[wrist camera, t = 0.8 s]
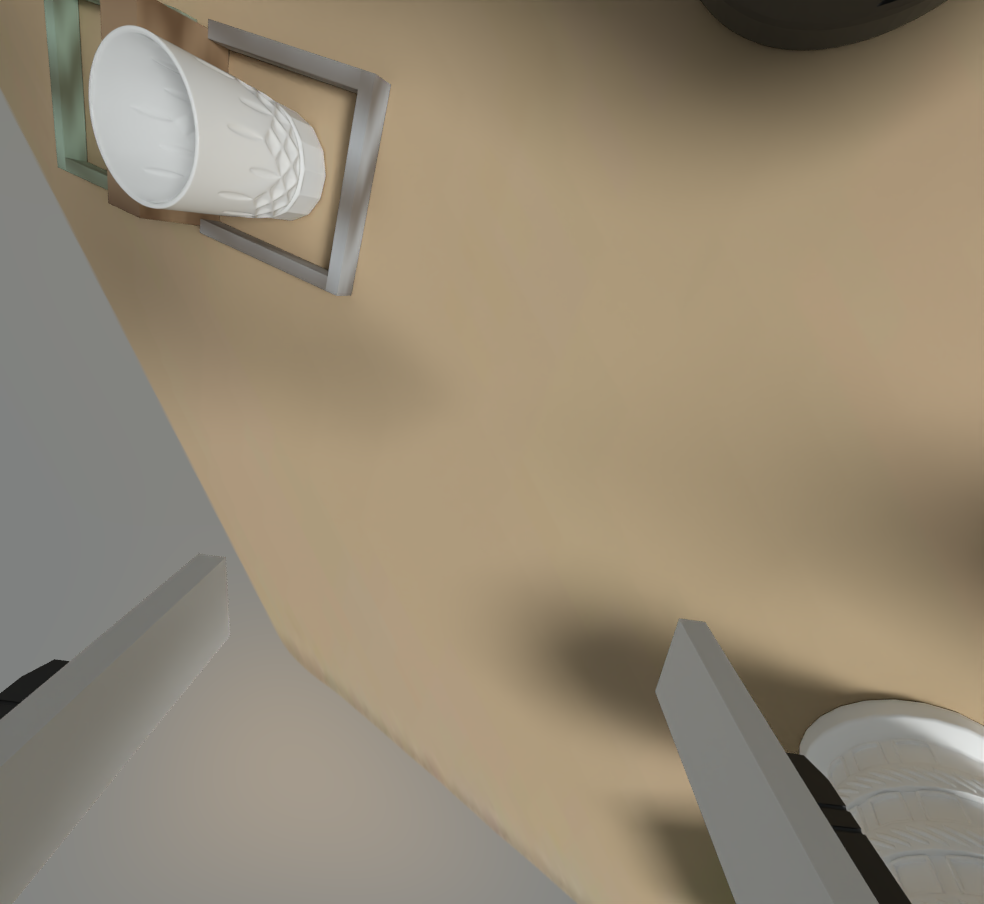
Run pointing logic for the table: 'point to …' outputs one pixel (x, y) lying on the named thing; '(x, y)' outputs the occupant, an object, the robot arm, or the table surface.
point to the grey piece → (139, 7)
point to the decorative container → (910, 791)
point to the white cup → (198, 134)
